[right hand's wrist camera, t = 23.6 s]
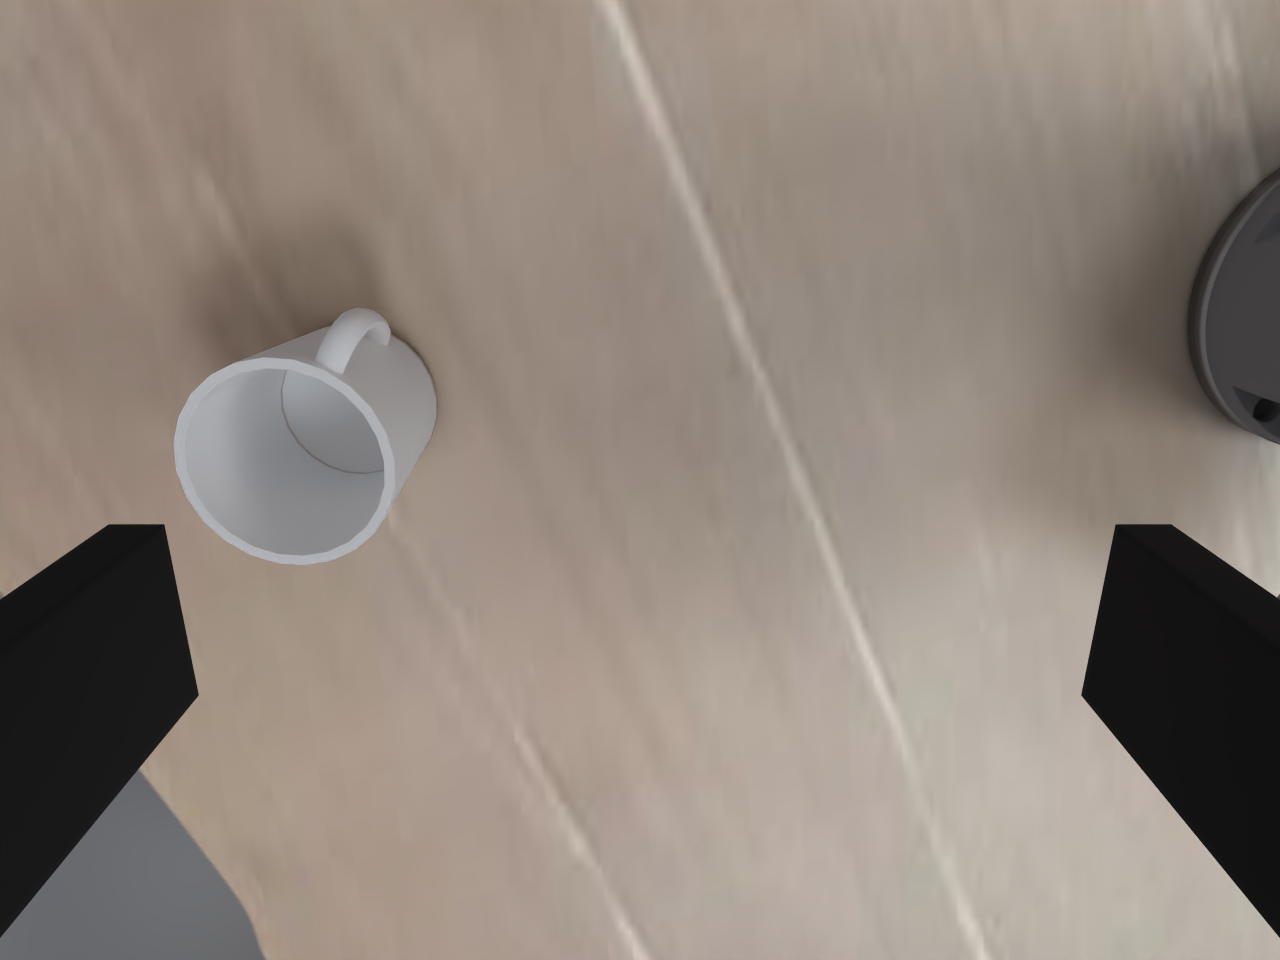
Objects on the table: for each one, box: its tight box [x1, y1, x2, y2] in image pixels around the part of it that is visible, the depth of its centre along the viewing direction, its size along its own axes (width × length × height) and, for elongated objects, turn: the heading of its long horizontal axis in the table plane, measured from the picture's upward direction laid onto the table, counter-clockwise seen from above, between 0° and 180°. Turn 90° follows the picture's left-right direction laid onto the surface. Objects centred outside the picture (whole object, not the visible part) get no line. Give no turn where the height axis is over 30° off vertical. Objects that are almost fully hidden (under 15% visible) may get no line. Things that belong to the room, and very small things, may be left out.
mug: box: [174, 307, 437, 565], centre depth 40 cm, size 11×9×10 cm
